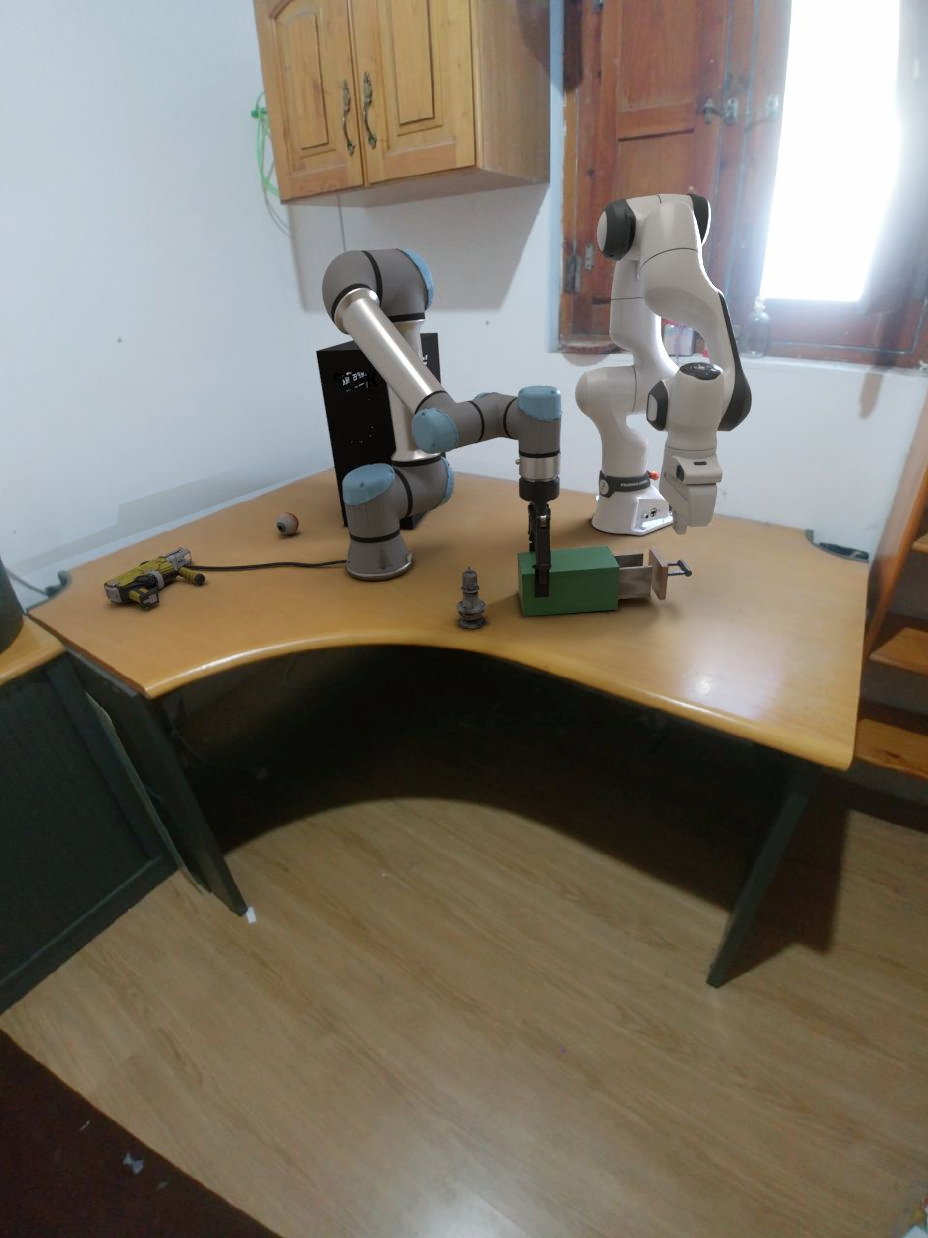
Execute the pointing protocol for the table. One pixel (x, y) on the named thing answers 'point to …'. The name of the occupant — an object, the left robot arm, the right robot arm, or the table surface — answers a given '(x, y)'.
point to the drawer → (645, 574)
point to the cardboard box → (363, 410)
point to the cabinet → (571, 581)
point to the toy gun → (150, 579)
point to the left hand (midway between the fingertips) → (538, 583)
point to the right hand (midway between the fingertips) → (678, 531)
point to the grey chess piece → (471, 602)
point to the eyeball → (287, 523)
